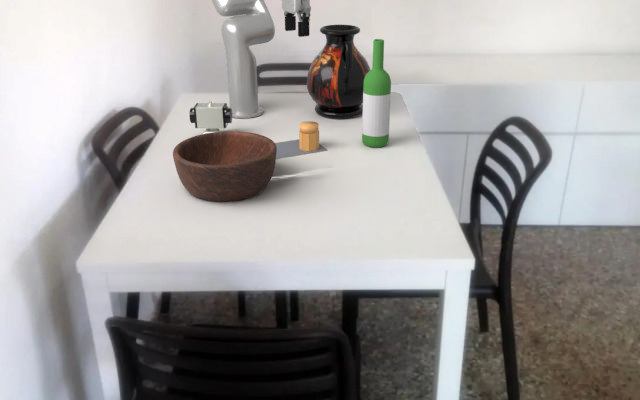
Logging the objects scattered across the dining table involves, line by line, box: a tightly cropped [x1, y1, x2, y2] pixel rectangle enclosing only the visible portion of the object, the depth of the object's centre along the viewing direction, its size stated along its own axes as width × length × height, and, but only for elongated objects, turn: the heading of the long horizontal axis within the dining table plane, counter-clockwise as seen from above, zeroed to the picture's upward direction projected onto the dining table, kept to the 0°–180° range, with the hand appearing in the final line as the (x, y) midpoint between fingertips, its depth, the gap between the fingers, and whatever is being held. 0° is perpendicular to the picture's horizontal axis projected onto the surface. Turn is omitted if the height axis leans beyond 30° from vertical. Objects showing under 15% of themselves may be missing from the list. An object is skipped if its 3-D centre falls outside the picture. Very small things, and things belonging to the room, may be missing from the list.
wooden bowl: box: [172, 130, 277, 202], centre depth 157 cm, size 25×25×10 cm
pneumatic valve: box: [189, 100, 233, 134], centre depth 187 cm, size 6×12×12 cm, turn 89°
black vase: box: [306, 24, 371, 120], centre depth 209 cm, size 22×22×28 cm
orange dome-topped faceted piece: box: [298, 120, 320, 151], centre depth 179 cm, size 5×5×7 cm
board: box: [274, 138, 329, 160], centre depth 179 cm, size 12×18×6 cm, turn 115°
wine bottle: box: [361, 38, 392, 148], centre depth 180 cm, size 8×8×30 cm
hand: (297, 33), depth 182 cm, fingers open, 9 cm apart
